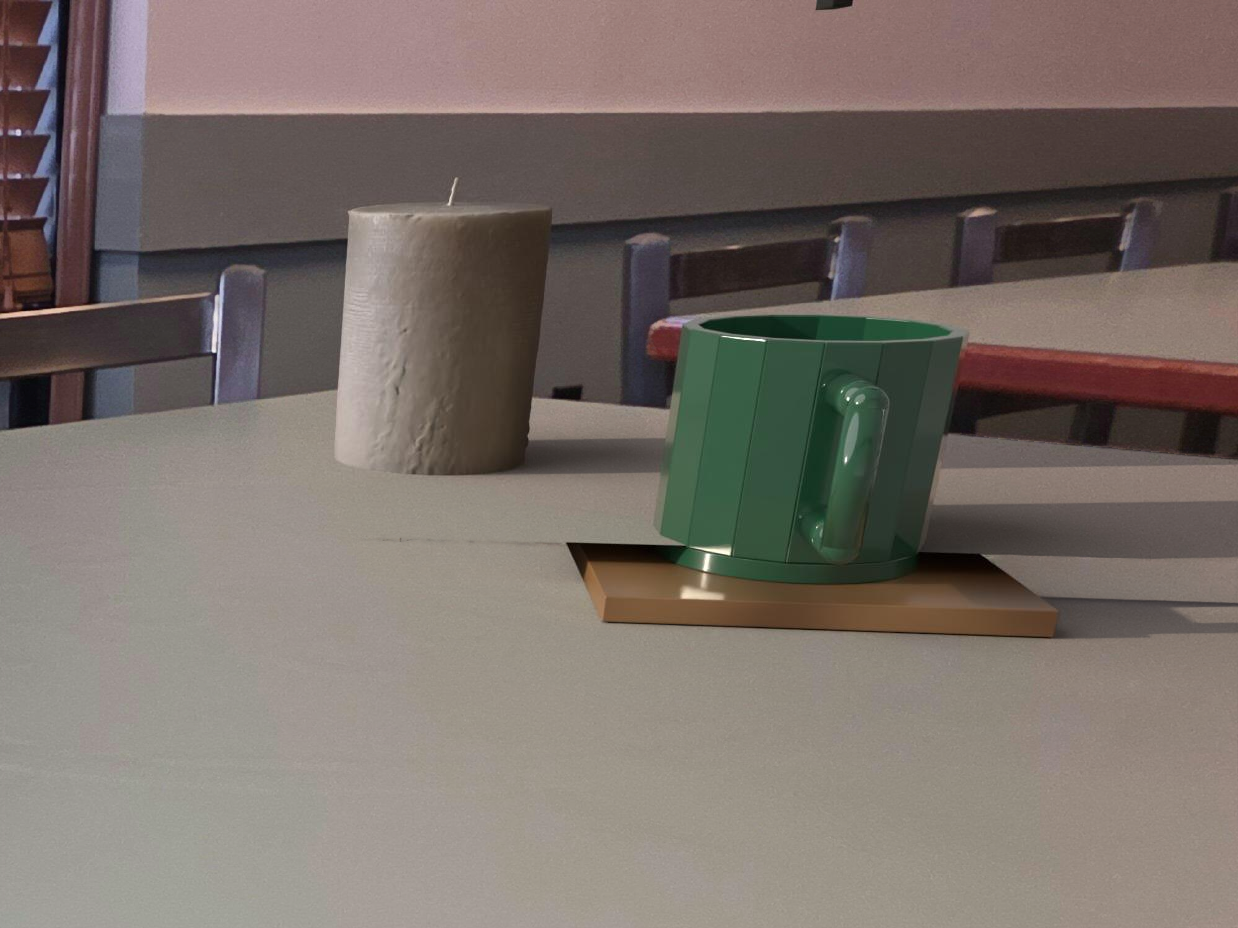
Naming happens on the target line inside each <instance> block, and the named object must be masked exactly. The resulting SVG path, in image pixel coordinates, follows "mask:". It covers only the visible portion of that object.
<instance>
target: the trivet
mask: <svg viewBox="0 0 1238 928" xmlns="http://www.w3.org/2000/svg"><path fill="white" fill-rule="evenodd" d="M565 544H566V546H567V548H568V550H569V552H570V555H571V557H572V560H573V561H574V563H575V565H576V568H577V571H578V572H579V574H580V576H581V579H582V581H583V584H584V585H585V587H586V589H587V592H588V594H589V596H590V598H591V601H592V602H593V605H594V607H595V610H596V611H597V613H598V616H599V618H600V620H601V621H602V622H606V623H607V622H608V623H630V624H631V623H633V624H635V623H636V624H663V625H690V626H716V627H717V626H720V627H745V628H746V627H748V628H777V629H804V630H805V629H806V630H830V631H831V630H835V631H836V630H837V631H861V632H863V631H864V632H890V633H915V634H916V633H922V634H923V633H924V634H943V635H945V634H946V635H947V634H949V635H972V636H973V635H975V636H976V635H977V636H1005V637H1033V638H1034V637H1035V638H1053V637H1054V636H1055V631H1056V628H1057V623H1058V619H1059V616H1060V610H1058V609H1057V608H1056V607H1054V606H1053V605H1051V604H1050V603H1049V602H1047V600H1045V599H1043V598H1042V597H1040V596H1039V595H1037V594H1036V592H1033V591H1032V590H1031V589H1030V588H1028V587H1026V586H1025V584H1023V583H1021V582H1020V581H1018V580H1017V579H1015V578H1014V577H1013V576H1012V575H1010V574H1009V573H1007V572H1006V571H1005V570H1004V569H1002V568H1001V567H999V566H998V565H996V563H994V562H992V561H990V559H988V558H987V557H985V556H984V555H982V554H981V553H973V552H972V553H971V552H941V551H940V552H937V551H936V552H935V551H920V552H921V554H920V559H919V564H918V567H917V569H916V570H914V571H913V572H912V573H910V574H908V575H905V576H902V577H899V578H895V579H890V580H885V581H878V582H870V583H858V584H794V583H779V582H768V581H758V580H750V579H742V578H735V577H729V576H723V575H717V574H712V573H707V572H703V571H699V570H695V569H691V568H688V567H684V566H681V565H678V564H675V563H673V562H670V561H668V560H666V559H664V558H662V557H661V556H659V555H658V554H656V552H655V551H654V550H653V547H652V545H653V544H647V543H646V544H645V543H612V542H609V543H607V542H575V541H574V542H572V541H568V542H567V541H565Z"/></svg>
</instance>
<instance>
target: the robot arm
mask: <svg viewBox="0 0 1238 928" xmlns="http://www.w3.org/2000/svg"><path fill="white" fill-rule="evenodd" d="M853 2H854V0H816V3H815V5H816V6H815V11H831V10H838V9H843V8H844V9H845V8H849V7H853Z"/></svg>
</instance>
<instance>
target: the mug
mask: <svg viewBox="0 0 1238 928" xmlns="http://www.w3.org/2000/svg"><path fill="white" fill-rule="evenodd" d="M680 331H681V332H680V338H679V344H678V345H679V346H678V352H677V357H676V358H677V360H676V366H675V373H674V380H673V387H672V391H671V392H672V393H671V400H670V405H669V406H670V407H669V414H668V419H667V420H668V421H667V428H666V434H665V441H664V449H663V454H662V461H661V468H660V475H659V483H658V489H657V490H658V491H657V496H656V503H655V509H654V515H653V523H652V525H653V527H654V529H655V530H656V531H657V533H658V534H659V536H661V537H664V538H666V539H669V540H671V541H673V542H676V543H679V544H651V545H652V547H653V550H654V551H655V552H656V554H658V555H659V556H661V557H662V558H664V559H666V560H668V561H670V562H673V563H675V564H678V565H681V566H684V567H688V568H691V569H695V570H699V571H703V572H707V573H712V574H717V575H723V576H729V577H735V578H742V579H750V580H758V581H768V582H779V583H794V584H858V583H870V582H878V581H885V580H890V579H895V578H899V577H902V576H905V575H908V574H910V573H912V572H913V571H914V570H916V569H917V567H918V564H919V559H920V554H921V552H922V551H920V550H921V549H922V547H924V544H925V543H926V540H927V534H928V530H929V526H930V521H931V516H932V512H933V508H934V503H935V497H936V492H937V488H938V483H939V478H940V475H941V470H942V465H943V460H944V455H945V451H946V446H947V441H948V437H949V432H950V428H951V422H952V418H953V413H954V408H955V403H956V399H957V394H958V389H959V384H960V379H961V375H962V370H963V366H964V362H965V358H966V353H967V347H968V342H969V339H970V331H969V330H967V329H964V328H962V327H959V326H956V325H953V324H949V323H942V322H935V321H931V320H930V321H929V320H922V319H915V318H914V319H913V318H911V319H910V318H900V317H890V316H879V315H859V314H838V313H837V314H835V313H747V314H745V313H744V314H727V315H717V316H708V317H700V318H694V319H691V320H689V321H686V322H684V323H682V325H681V330H680ZM680 544H681V545H680Z"/></svg>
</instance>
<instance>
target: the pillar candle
mask: <svg viewBox="0 0 1238 928" xmlns="http://www.w3.org/2000/svg"><path fill="white" fill-rule="evenodd" d="M460 182H461V178H460V177H455V179H454V180H453V184H452V187H451V194H450V196H449V199H448V200H449V201H431V202H402V203H399V202H398V203H391V204H389V203H388V204H387V203H386V204H376V205H369V206H361V207H355V208H353V209H350V210H347V214H348V229H347V247H346V259H345V260H346V261H345V277H344V278H345V279H344V293H343V306H342V307H343V309H342V325H341V340H340V352H339V365H338V366H339V367H338V381H337V393H336V395H337V396H336V414H335V430H334V431H335V433H334V453H333V456H334V458H335V460H336V461H337V462H339V463H341V464H343V465H346V466H350V467H354V468H358V469H362V470H367V471H375V472H383V473H390V474H391V473H392V474H401V475H417V476H418V475H420V476H473V475H486V474H495V473H501V472H506V471H511V470H514V469H516V468H518V467H521V466H522V465H523V464H524V463H525V458H526V457H525V456H526V452H527V447H528V446H529V434H530V429H531V427H530V426H531V425H530V420H531V412H532V403H533V393H534V385H535V373H536V367H537V360H538V359H537V358H538V354H539V353H538V352H539V345H540V338H541V326H542V318H543V317H542V316H543V309H544V300H545V291H546V281H547V280H546V279H547V270H548V269H547V268H548V261H549V254H550V246H551V245H550V243H551V234H552V233H551V232H552V221H553V207H552V206H551V205H545V204H539V203H537V204H536V203H524V202H523V203H519V202H504V201H503V202H502V201H455V198H456V194H457V190H458V187H459V185H460Z"/></svg>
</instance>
